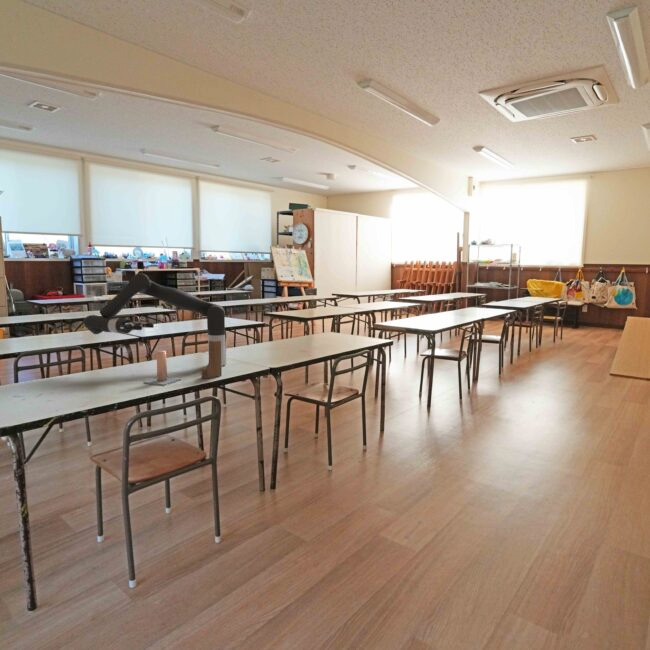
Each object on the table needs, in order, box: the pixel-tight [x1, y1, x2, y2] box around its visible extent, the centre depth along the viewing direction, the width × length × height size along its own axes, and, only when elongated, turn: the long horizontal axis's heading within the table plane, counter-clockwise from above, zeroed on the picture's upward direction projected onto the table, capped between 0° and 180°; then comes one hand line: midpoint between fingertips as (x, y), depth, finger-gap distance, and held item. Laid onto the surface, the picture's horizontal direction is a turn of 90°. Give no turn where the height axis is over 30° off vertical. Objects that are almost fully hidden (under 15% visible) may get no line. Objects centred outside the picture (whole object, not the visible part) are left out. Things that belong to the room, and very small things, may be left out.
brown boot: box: [201, 340, 223, 380], centre depth 230 cm, size 9×4×18 cm, turn 140°
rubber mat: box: [143, 376, 182, 386], centre depth 221 cm, size 12×12×1 cm
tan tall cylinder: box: [155, 349, 168, 381], centre depth 220 cm, size 4×4×14 cm
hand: (147, 326), depth 227 cm, fingers open, 8 cm apart
